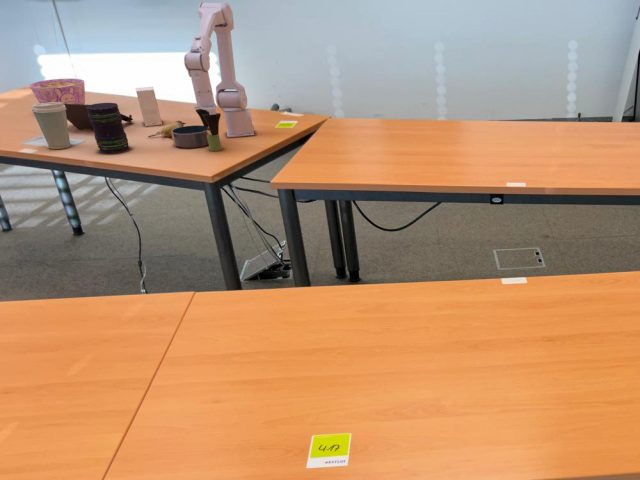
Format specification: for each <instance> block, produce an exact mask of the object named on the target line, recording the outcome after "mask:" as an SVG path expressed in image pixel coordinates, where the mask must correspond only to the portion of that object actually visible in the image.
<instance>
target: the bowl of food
mask: <svg viewBox="0 0 640 480" xmlns="http://www.w3.org/2000/svg"><path fill="white" fill-rule="evenodd" d="M29 88H30V90H31V92H32V93H33V95H34V97H35V98H36V100H37V101H38V104H40V103H50V102H62V103H63V104H85V103H86V89H85V80H84V79H81V78H53V79H45V80H38V81H35V82H32V83H30V84H29ZM85 105H86V104H85Z"/></svg>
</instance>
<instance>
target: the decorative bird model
mask: <svg viewBox="0 0 640 480" xmlns="http://www.w3.org/2000/svg"><path fill="white" fill-rule="evenodd" d="M185 124H186V122H182V121H181V120H176V121H175V122H174V123H173V122H172V123H168V124H166V125H164V126H163V127H161V128H160V129H159V131H156V132H155V133H154V134H151V135H148V136H147V137H148V138H152V137H157V136H159V135H161V136H163V137H168V138H170V137H171V139H172V140H173V138H172V134H171V130H173V129H175V128H178V127H183V126H185Z"/></svg>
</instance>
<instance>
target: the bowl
mask: <svg viewBox="0 0 640 480" xmlns="http://www.w3.org/2000/svg"><path fill="white" fill-rule="evenodd" d="M171 134H172V137H171V139H172V138H173V139H172V143H173V145H174V146H175V147H178V148H181V149H196V148H202V147H205V146H206V147H207V146H209V144H208V139H207V135H209V134H208V133H207V131H206V129H205V127H204V125H203V124H202V125H201V124H199V125H198V124H193V125H192V124H191V125H183V127H178V128H175V129H173V130H171Z"/></svg>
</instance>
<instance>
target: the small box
mask: <svg viewBox="0 0 640 480" xmlns="http://www.w3.org/2000/svg"><path fill="white" fill-rule="evenodd" d="M135 92H136V96H137V99H138V104H139V108H140V113H141V115H142V120H143V124H144V127H152V126H162V125H163V122H162V117H161V113H160V109H159V105H158V102H157V101H158V100H157V96H156V93H155V89H154V86H142V87H141V86H140V87H139V86H138V87H135Z"/></svg>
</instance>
